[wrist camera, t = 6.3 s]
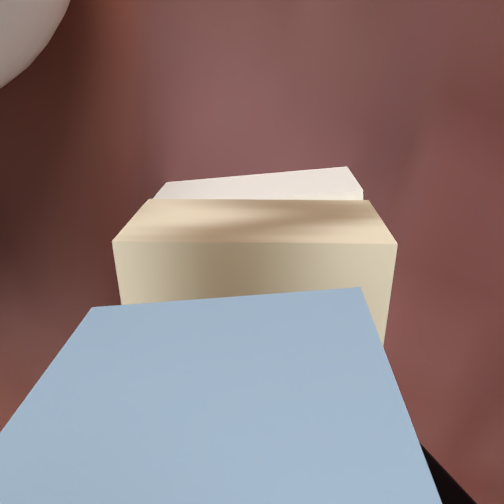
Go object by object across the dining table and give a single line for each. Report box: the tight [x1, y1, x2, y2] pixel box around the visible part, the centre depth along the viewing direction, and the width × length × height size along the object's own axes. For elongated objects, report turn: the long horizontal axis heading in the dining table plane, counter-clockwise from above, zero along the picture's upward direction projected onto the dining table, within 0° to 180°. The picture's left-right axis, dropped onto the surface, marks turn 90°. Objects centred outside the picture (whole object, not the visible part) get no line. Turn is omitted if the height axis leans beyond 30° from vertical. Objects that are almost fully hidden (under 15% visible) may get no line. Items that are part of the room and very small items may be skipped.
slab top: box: [112, 199, 398, 345], centre depth 12 cm, size 6×6×3 cm
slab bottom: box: [153, 167, 363, 200], centre depth 14 cm, size 6×6×3 cm
